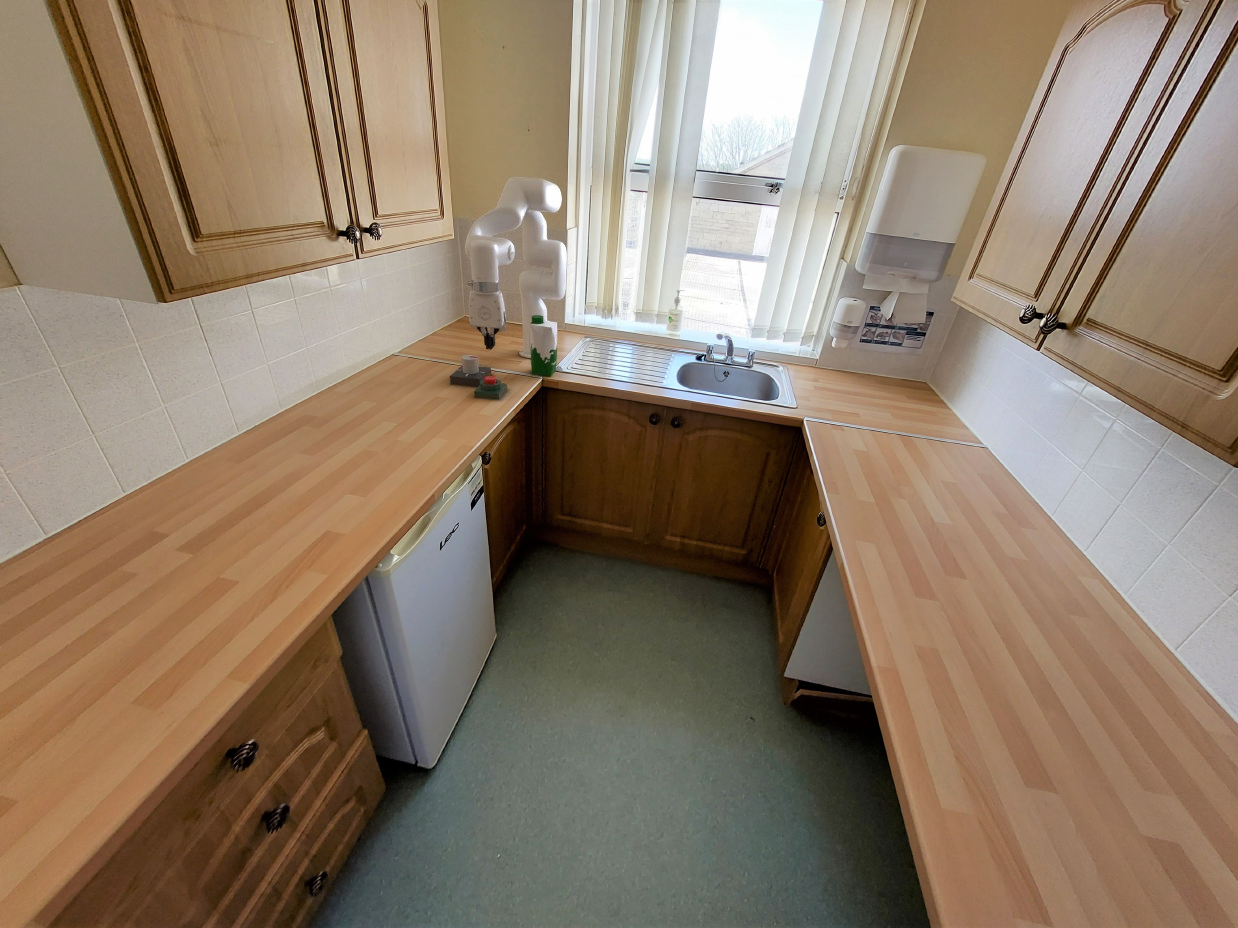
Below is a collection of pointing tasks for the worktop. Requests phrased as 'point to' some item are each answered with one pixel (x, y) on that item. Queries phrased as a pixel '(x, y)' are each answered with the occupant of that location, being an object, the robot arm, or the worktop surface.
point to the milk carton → (543, 346)
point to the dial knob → (470, 364)
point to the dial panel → (469, 377)
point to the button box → (490, 390)
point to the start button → (490, 380)
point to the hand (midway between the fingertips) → (490, 348)
